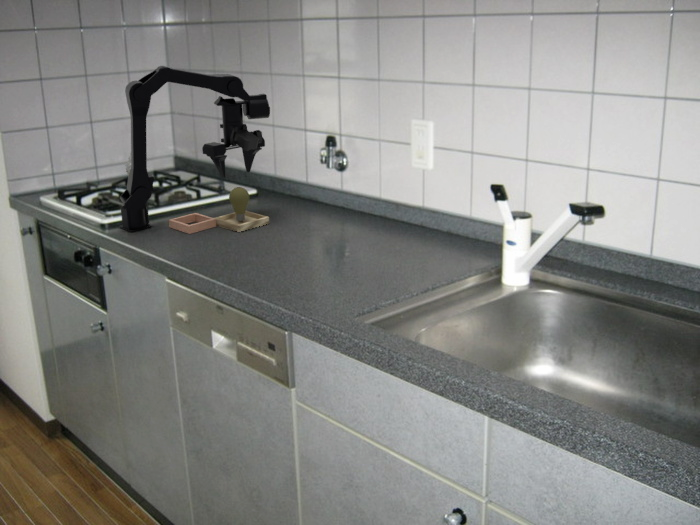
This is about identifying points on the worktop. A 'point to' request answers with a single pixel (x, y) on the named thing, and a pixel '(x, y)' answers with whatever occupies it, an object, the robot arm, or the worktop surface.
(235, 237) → the worktop surface
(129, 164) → the ice cream cone
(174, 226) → the shallow square box
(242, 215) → the light bulb
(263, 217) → the tray
